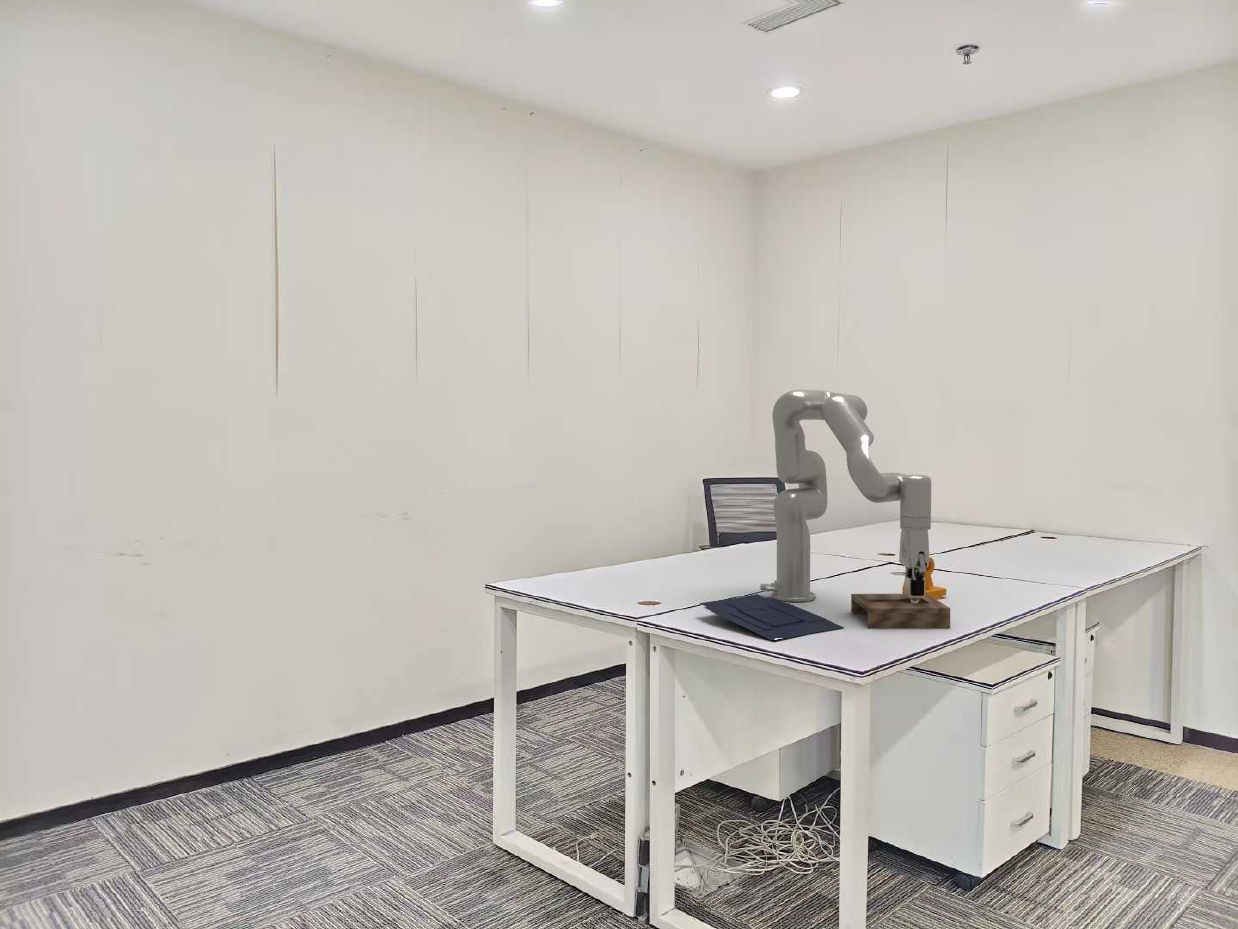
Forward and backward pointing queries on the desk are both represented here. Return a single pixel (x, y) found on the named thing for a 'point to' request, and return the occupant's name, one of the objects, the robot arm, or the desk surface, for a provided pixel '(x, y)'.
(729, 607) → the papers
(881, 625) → the keyhole board
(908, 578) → the peg
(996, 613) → the desk surface
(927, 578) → the bracket
